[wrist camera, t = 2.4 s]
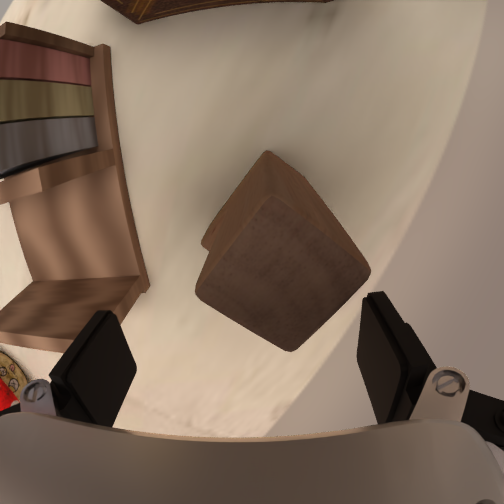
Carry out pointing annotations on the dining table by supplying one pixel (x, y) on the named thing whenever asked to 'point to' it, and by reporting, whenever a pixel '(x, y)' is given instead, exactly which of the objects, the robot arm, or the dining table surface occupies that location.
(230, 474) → the robot arm
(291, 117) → the dining table surface
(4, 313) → the book rack
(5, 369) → the mushroom
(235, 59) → the dining table surface
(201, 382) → the dining table surface
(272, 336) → the wooden block
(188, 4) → the book
